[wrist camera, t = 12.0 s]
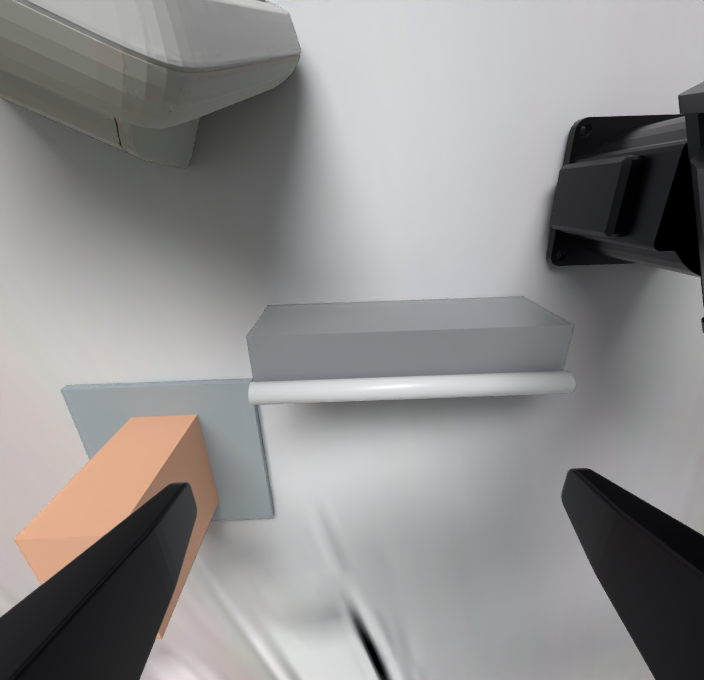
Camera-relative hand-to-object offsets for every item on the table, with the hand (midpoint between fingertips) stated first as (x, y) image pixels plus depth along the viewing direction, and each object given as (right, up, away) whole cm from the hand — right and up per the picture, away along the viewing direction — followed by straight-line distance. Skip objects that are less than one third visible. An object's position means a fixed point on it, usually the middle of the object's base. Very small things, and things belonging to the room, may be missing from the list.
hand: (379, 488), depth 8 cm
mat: (-12, -4, +14) cm, 19 cm away
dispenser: (+2, +4, +11) cm, 12 cm away
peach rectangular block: (-12, -4, +14) cm, 19 cm away
